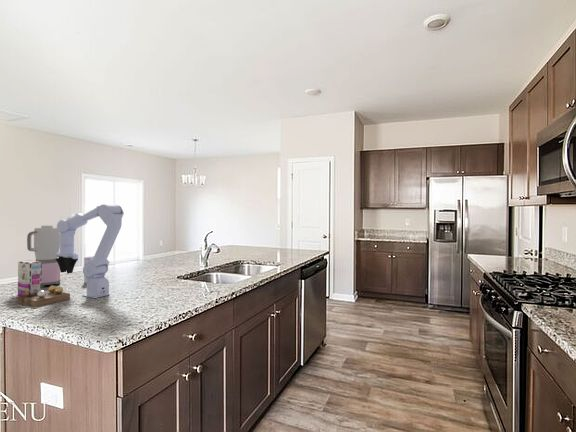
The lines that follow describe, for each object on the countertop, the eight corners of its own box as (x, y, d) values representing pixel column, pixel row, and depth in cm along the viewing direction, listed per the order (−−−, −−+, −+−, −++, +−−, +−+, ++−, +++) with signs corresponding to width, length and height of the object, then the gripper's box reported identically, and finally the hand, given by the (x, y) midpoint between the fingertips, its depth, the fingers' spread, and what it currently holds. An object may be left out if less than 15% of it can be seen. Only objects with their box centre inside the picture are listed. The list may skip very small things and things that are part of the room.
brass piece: (64, 293, 150) (64, 286, 150) (57, 295, 147) (57, 287, 147) (60, 292, 151) (60, 285, 151) (53, 294, 149) (53, 287, 149)
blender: (51, 281, 186) (52, 224, 186) (65, 284, 181) (66, 225, 181) (19, 287, 171) (20, 225, 171) (34, 289, 167) (34, 226, 166)
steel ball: (48, 297, 143) (48, 289, 143) (39, 299, 140) (39, 291, 140) (43, 296, 144) (43, 289, 144) (35, 298, 141) (35, 290, 141)
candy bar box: (42, 297, 153) (42, 261, 153) (29, 299, 148) (29, 262, 148) (29, 294, 158) (29, 259, 158) (16, 296, 154) (17, 260, 154)
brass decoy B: (58, 292, 152) (58, 285, 152) (50, 293, 149) (50, 286, 149) (54, 291, 154) (54, 284, 154) (46, 292, 151) (46, 285, 151)
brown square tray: (69, 299, 150) (70, 293, 150) (34, 306, 137) (34, 300, 137) (51, 295, 156) (51, 290, 156) (15, 302, 143) (15, 296, 143)
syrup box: (93, 283, 184) (94, 257, 184) (83, 283, 184) (83, 257, 184) (99, 281, 190) (100, 255, 190) (89, 281, 190) (90, 255, 190)
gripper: (84, 244, 161) (84, 272, 161) (66, 243, 168) (66, 270, 168) (69, 246, 155) (69, 275, 155) (51, 244, 161) (51, 272, 161)
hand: (66, 272), depth 161 cm, fingers open, 4 cm apart
